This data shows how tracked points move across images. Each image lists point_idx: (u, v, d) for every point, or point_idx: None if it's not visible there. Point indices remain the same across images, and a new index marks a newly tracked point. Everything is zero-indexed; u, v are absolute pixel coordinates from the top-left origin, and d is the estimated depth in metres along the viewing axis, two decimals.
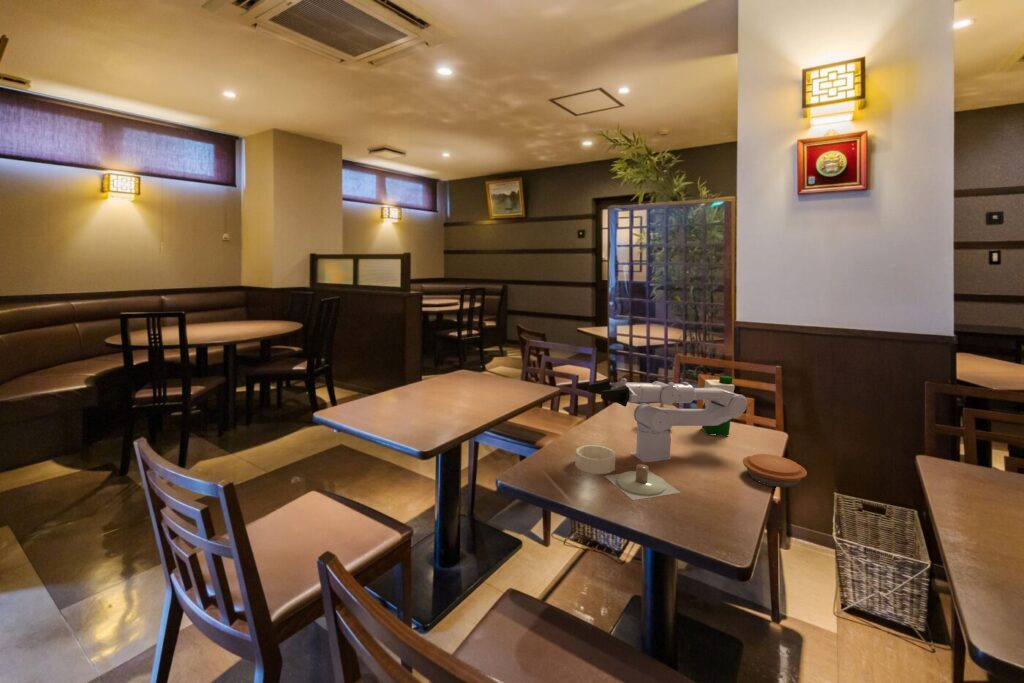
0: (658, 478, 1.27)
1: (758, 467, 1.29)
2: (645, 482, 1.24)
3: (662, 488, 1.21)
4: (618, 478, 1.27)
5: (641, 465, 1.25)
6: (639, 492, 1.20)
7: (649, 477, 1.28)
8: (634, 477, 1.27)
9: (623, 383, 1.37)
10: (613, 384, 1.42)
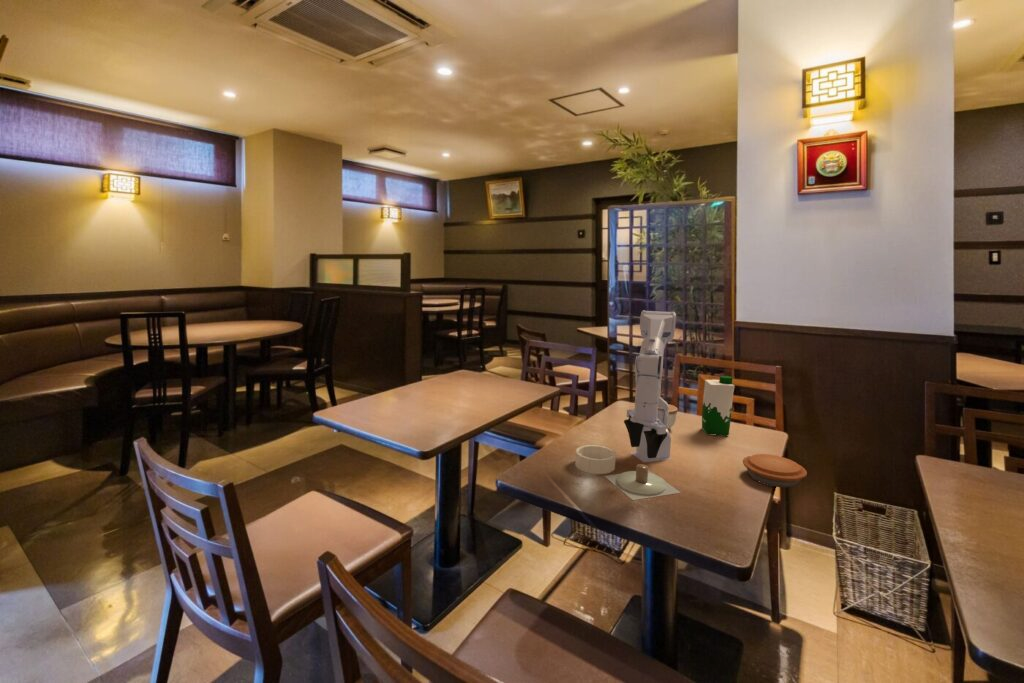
0: (658, 478, 1.27)
1: (758, 467, 1.29)
2: (645, 482, 1.24)
3: (662, 488, 1.21)
4: (618, 478, 1.27)
5: (641, 465, 1.25)
6: (639, 492, 1.20)
7: (649, 477, 1.28)
8: (634, 477, 1.27)
9: None
10: None
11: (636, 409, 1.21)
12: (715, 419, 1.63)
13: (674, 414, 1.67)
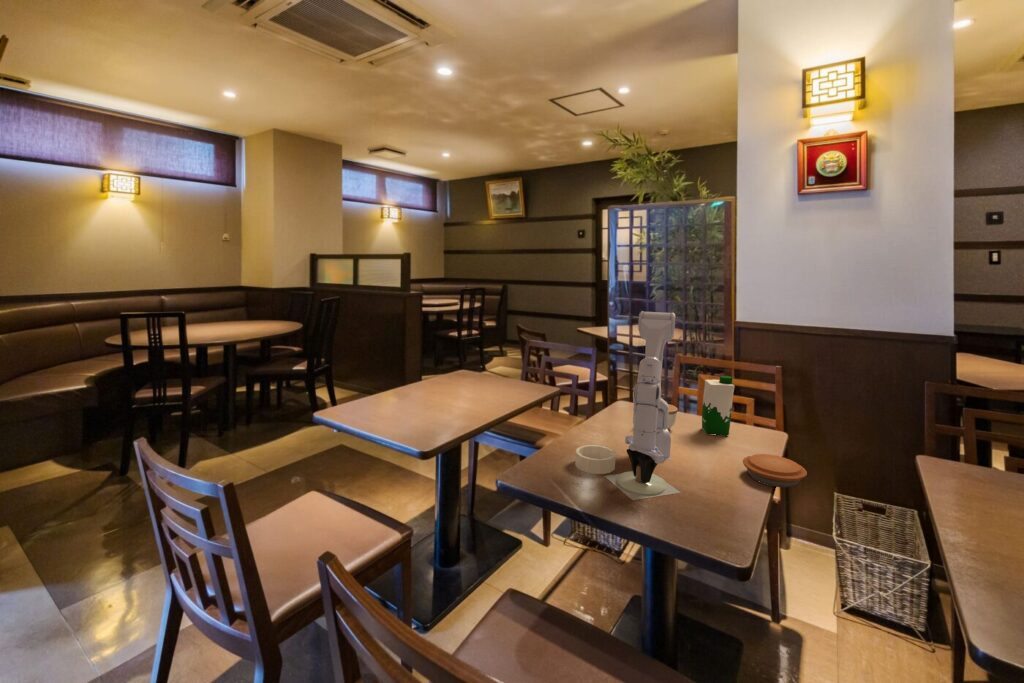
0: (658, 478, 1.27)
1: (758, 467, 1.29)
2: None
3: (662, 488, 1.22)
4: (618, 478, 1.27)
5: None
6: (639, 492, 1.20)
7: None
8: (634, 477, 1.27)
9: None
10: None
11: (634, 437, 1.23)
12: (715, 419, 1.63)
13: (674, 414, 1.67)
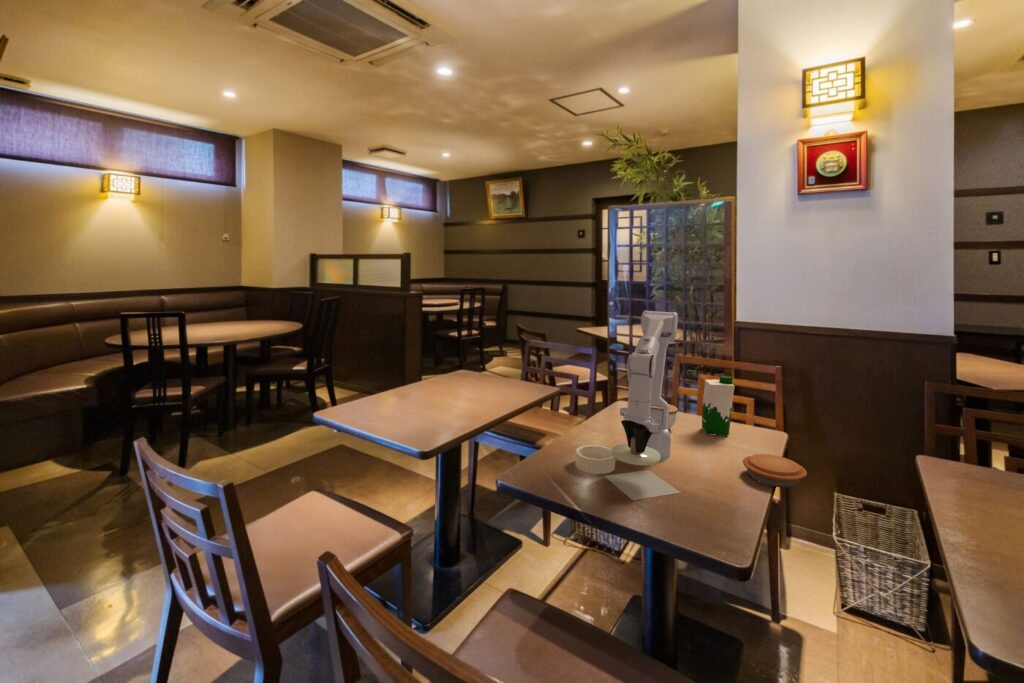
0: (652, 450, 1.28)
1: (758, 467, 1.29)
2: (640, 453, 1.25)
3: (656, 459, 1.22)
4: (613, 450, 1.27)
5: None
6: (634, 462, 1.20)
7: None
8: (629, 449, 1.28)
9: None
10: None
11: (629, 407, 1.23)
12: (715, 419, 1.63)
13: (674, 414, 1.67)
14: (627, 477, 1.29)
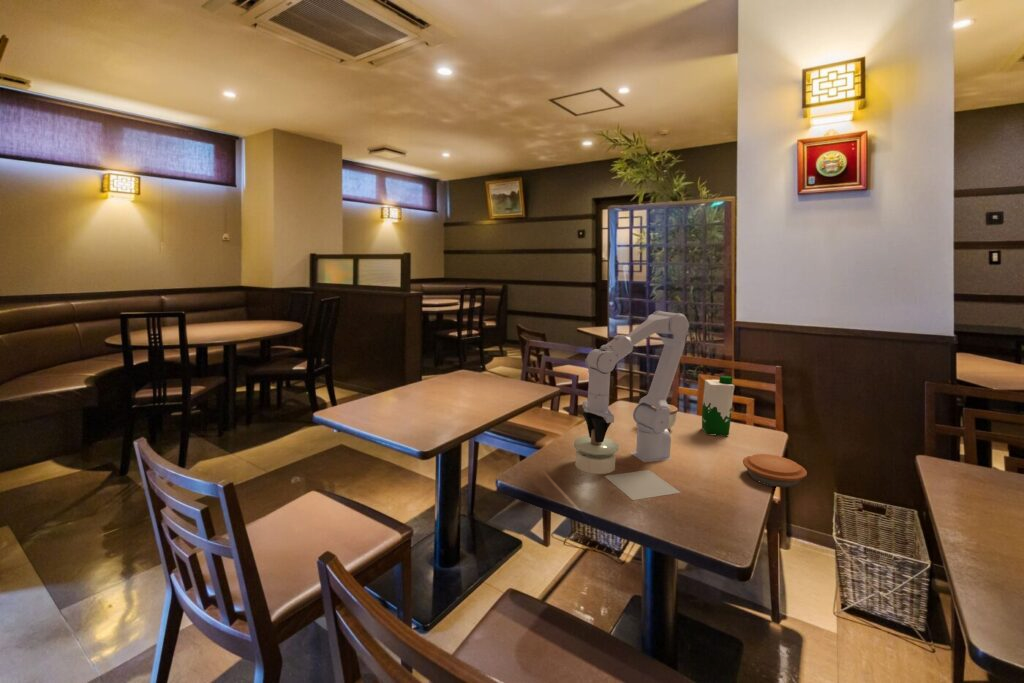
0: (613, 442, 1.37)
1: (758, 467, 1.29)
2: (598, 444, 1.34)
3: (613, 449, 1.31)
4: (575, 440, 1.37)
5: None
6: (590, 452, 1.30)
7: (605, 441, 1.38)
8: (590, 440, 1.38)
9: (590, 412, 1.33)
10: None
11: (589, 400, 1.33)
12: (715, 419, 1.63)
13: (674, 414, 1.67)
14: (627, 477, 1.29)
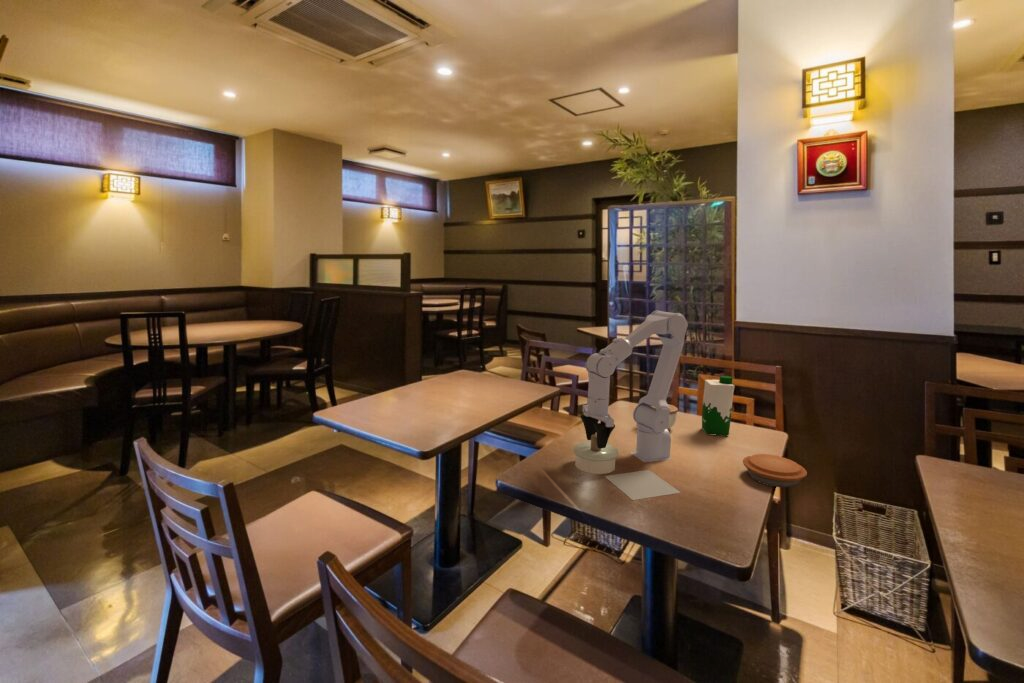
0: (612, 448, 1.37)
1: (758, 467, 1.29)
2: (598, 450, 1.35)
3: (612, 455, 1.32)
4: (575, 446, 1.38)
5: (596, 435, 1.36)
6: (590, 458, 1.30)
7: None
8: (590, 446, 1.38)
9: None
10: None
11: (588, 404, 1.33)
12: (715, 419, 1.63)
13: (674, 414, 1.67)
14: (627, 477, 1.29)
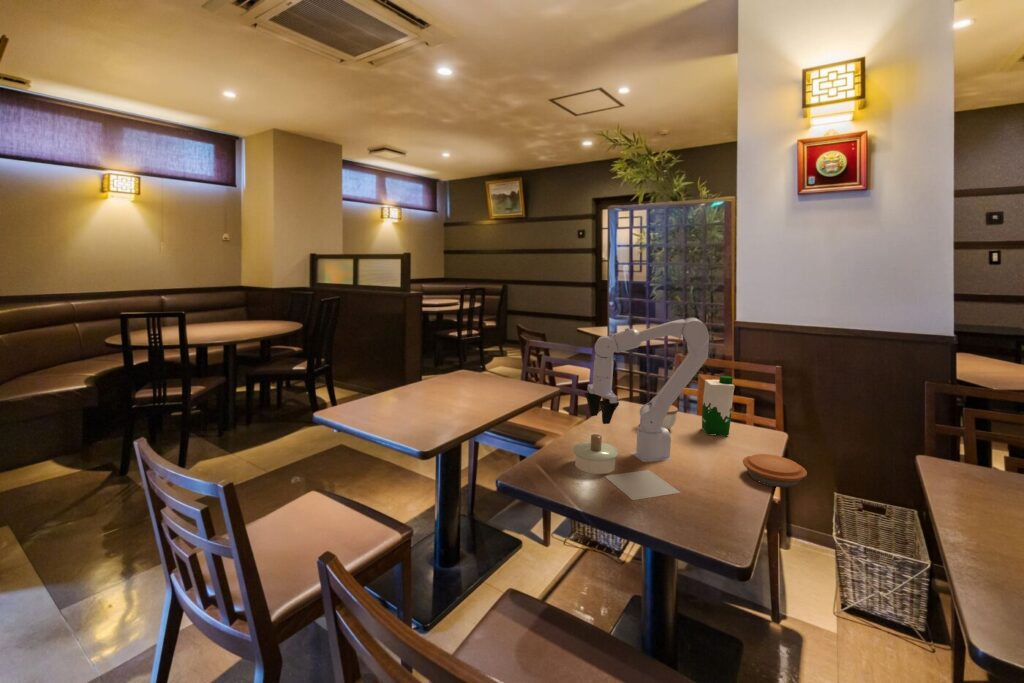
0: (612, 448, 1.37)
1: (758, 467, 1.29)
2: (598, 450, 1.35)
3: (612, 455, 1.32)
4: (575, 446, 1.38)
5: (596, 435, 1.36)
6: (590, 458, 1.30)
7: (604, 447, 1.38)
8: (590, 446, 1.38)
9: (594, 393, 1.44)
10: None
11: (594, 383, 1.44)
12: (715, 419, 1.63)
13: (674, 414, 1.67)
14: (627, 477, 1.29)
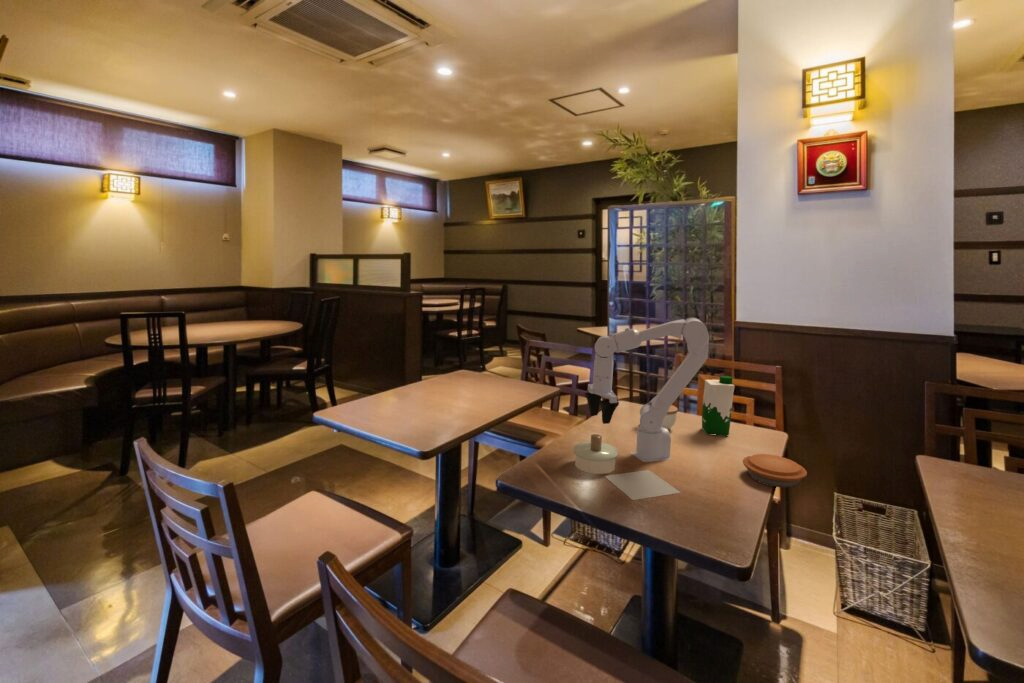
0: (612, 448, 1.37)
1: (758, 467, 1.29)
2: (598, 450, 1.35)
3: (612, 455, 1.32)
4: (575, 446, 1.38)
5: (596, 435, 1.36)
6: (590, 458, 1.30)
7: (604, 447, 1.38)
8: (590, 446, 1.38)
9: (594, 393, 1.44)
10: None
11: (594, 382, 1.44)
12: (715, 419, 1.63)
13: (674, 414, 1.67)
14: (627, 477, 1.29)
